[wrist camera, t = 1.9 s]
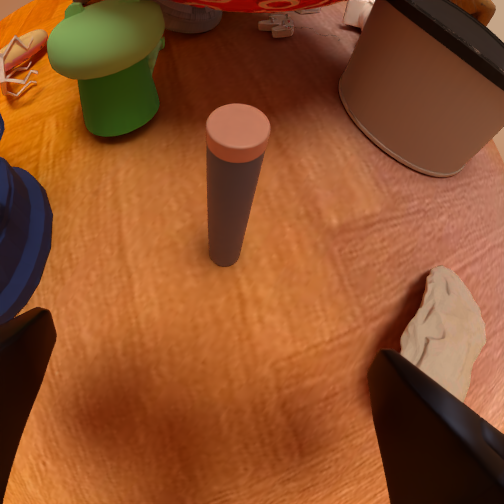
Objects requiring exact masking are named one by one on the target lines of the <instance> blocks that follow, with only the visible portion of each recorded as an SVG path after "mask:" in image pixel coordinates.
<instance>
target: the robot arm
mask: <svg viewBox="0 0 504 504" xmlns="http://www.w3.org/2000/svg"><path fill="white" fill-rule="evenodd" d="M56 337H57V334H56V329H55V326H54V322H53V319H52V315H51V312H50V311H49V310H48V309H44V308H40V307H36V308H34V309H31V310H29V311H27V312H25V313H23V314H21V315H19V316H17V317H15V318H13V319H11V320H9V321H7V322H5V323H3V324H1V325H0V504H3V498H4V495H5V491H6V487H7V483H8V479H9V475H10V472H11V468H12V465H13V461H14V458H15V455H16V451H17V448H18V445H19V442H20V439H21V436H22V433H23V431H24V428H25V425H26V422H27V419H28V417H29V414H30V412H31V409H32V406H33V404H34V401H35V399H36V396H37V394H38V392H39V389H40V386H41V384H42V381H43V378H44V375H45V372H46V369H47V365H48V362H49V359H50V356H51V354H52V351H53V348H54V345H55V342H56ZM367 379H368V385H369V392H370V399H371V407H372V415H373V421H374V426H375V431H376V435H377V439H378V444H379V448H380V453H381V457H382V462H383V467H384V472H385V477H386V482H387V487H388V492H389V498H390V504H504V434H503V433H501V432H500V431H498V430H497V429H496V428H495V427H493V426H492V425H491V424H489V423H488V422H487V421H486V420H484V419H483V418H480V416H479V415H478V414H477V413H475V412H474V411H473V410H471V409H470V408H469V407H468V406H466V405H465V404H464V403H463V402H461V401H460V400H459V399H457V398H456V397H455V396H454V395H452V394H451V393H450V392H448V391H447V390H446V389H445V388H443V387H442V386H441V385H440V384H438V383H437V382H436V381H434V380H433V379H432V378H431V377H429V376H428V375H427V374H425V373H424V372H423V371H421V370H420V369H419V368H418V367H416V366H415V365H414V364H412V363H411V362H410V361H409V360H407V359H406V358H405V357H403V356H402V355H401V354H399V353H398V352H397V351H396V350H394V349H391V348H383V349H380V350H378V352H377V353H376V355H375V357H374V359H373V361H372V363H371V365H370V367H369V369H368V373H367Z"/></svg>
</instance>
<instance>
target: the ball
mask: <svg viewBox="0 0 504 504" xmlns="http://www.w3.org/2000/svg"><path fill="white" fill-rule="evenodd" d="M169 1H173V2H176V3H181V4H186V5H190V6H194V7H199V8H204V7H205V6H207V7H209V8H211V9H215V10H220V11H228V12H247V13H275V12H285V11H294V10H307V9H313V8H318V7H323V6H328V5H332V4H335V3H338V2H341V1H348V0H169Z"/></svg>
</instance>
